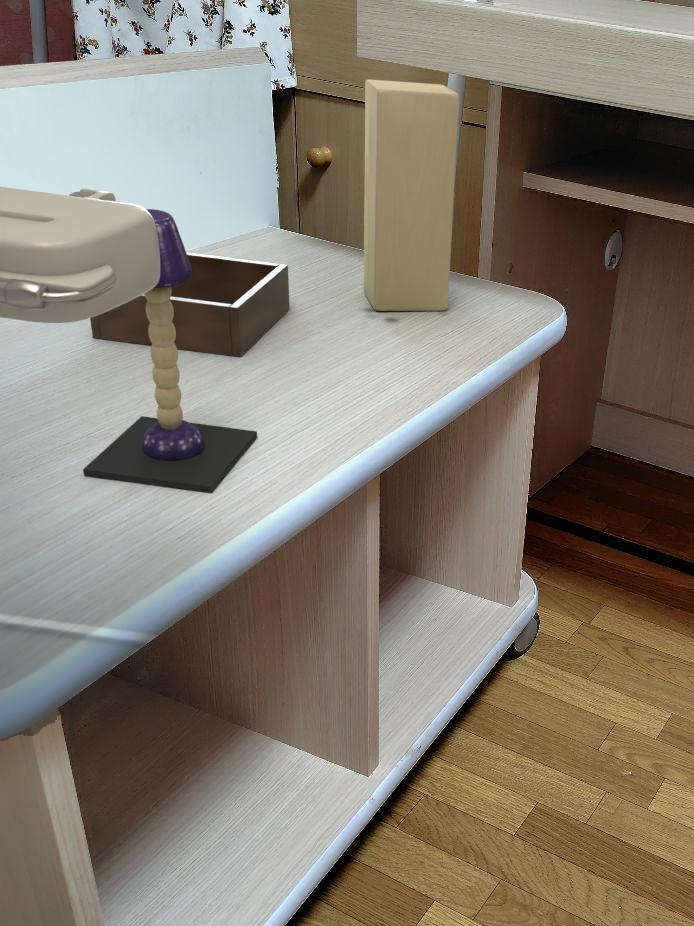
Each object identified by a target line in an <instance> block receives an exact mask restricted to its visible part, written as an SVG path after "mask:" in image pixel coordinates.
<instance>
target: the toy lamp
mask: <svg viewBox="0 0 694 926" xmlns="http://www.w3.org/2000/svg"><path fill="white" fill-rule="evenodd" d="M145 209H146V210H147V211H148V212H149V213H150V215H151V216H152V217H153V219H154V222H155V225H156V229H157V235H158V242H159V251H160V279H159V282H158V284H157V285H156V286H155V287H154V288H153V289H151V290H150V291H148V292H146V293H144V295H145V297H146V299H147V300H148V301H147V303H146V315H147V318H148V320H149V321H150V324H149V328H148V334H149V338H150V341H151V342H152V345H150V346H151V348H150V359H151V361H152V364H153V368H152V380H153V382H154V384H155V388H154V400H155V402H156V404H157V409H156V418H157V419H158V422H157V423H155V424H154V425H152V426H151V427H150V428H149V429H148V430H147V431H146V433H145V436H144V438H143V444H142V448H143V451H144V452H145V453H146V454H147V455H148V456H150V457H153V458H156V459H161V460H182V459H187V458H191V457H193V456H195V455H198V454H199V453H200V452H201V451H202V450H203V449H204V446H205V443H204V439H203V437H202V435H201V433H200V431H199V430H198V429H197V428H196V427H195V426H194V425H193V424H191V423H192V422H190V421H187V420H184V418H183V417H184V413H183V408H182V406H181V404H180V403H181V401H182V390H181V388H180V385H179V382H180V378H181V376H180V375H181V373H180V369H179V367H178V365H177V363H178V359H179V351H178V349H177V347H176V345H175V344H174V341H175V338H176V331H175V327H174V324H173V323H172V320H173V315H174V310H173V306H172V303H171V301H170V300H169V299H170V297H171V292H172V289H171V287H174V286H179V285H181V284H184V283H186V282H187V281H189V280H190V279H191V276H192V269H191V265H190V262H189V259H188V256H187V254H186V252H187V251H186V248H185V245H184V242H183V240H182V236H181V235H180V232H179V229H178V226H177V223H176V221H175V218H174V217H173V215H172V214H171V213H169V212H167V211H164V210H160V209H153V208H152V209H151V208H145ZM189 422H190V423H189Z"/></svg>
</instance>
